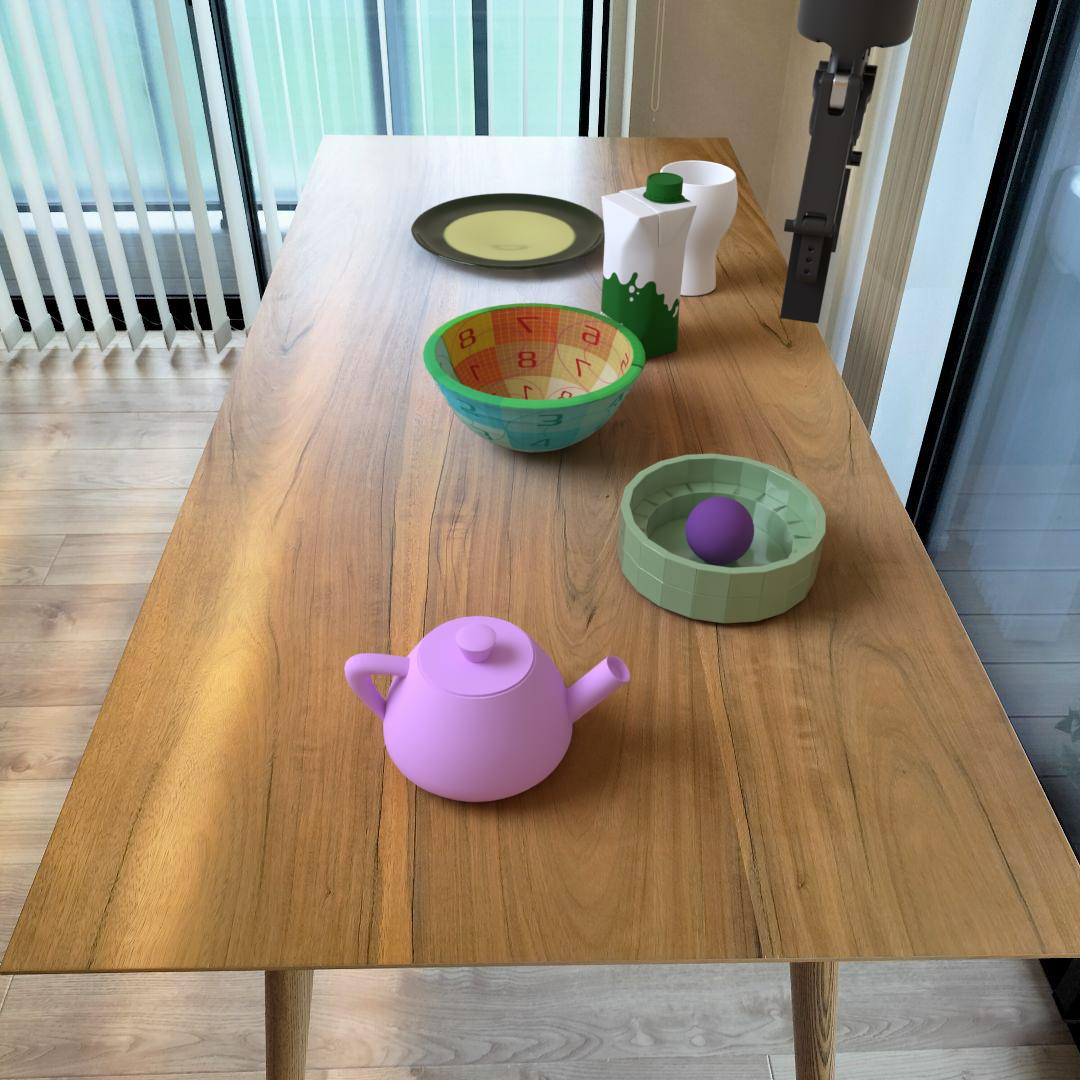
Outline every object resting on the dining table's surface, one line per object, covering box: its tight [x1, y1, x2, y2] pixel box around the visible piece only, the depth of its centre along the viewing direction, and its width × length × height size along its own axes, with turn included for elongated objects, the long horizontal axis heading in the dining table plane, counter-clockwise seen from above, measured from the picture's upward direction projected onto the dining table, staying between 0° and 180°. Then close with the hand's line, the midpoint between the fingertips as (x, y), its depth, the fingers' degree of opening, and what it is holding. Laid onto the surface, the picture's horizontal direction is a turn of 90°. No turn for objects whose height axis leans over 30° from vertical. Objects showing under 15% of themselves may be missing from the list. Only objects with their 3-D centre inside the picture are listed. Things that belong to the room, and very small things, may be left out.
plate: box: [410, 192, 605, 271], centre depth 155 cm, size 28×28×2 cm
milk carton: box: [599, 172, 697, 360], centre depth 125 cm, size 9×9×20 cm
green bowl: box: [616, 453, 827, 624], centre depth 96 cm, size 18×18×6 cm
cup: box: [659, 160, 739, 297], centre depth 141 cm, size 11×11×15 cm
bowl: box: [422, 302, 646, 454], centre depth 111 cm, size 22×22×10 cm
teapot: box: [343, 615, 631, 803], centre depth 77 cm, size 14×20×11 cm
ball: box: [686, 497, 754, 564], centre depth 95 cm, size 6×6×6 cm
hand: (809, 282), depth 82 cm, fingers open, 13 cm apart
